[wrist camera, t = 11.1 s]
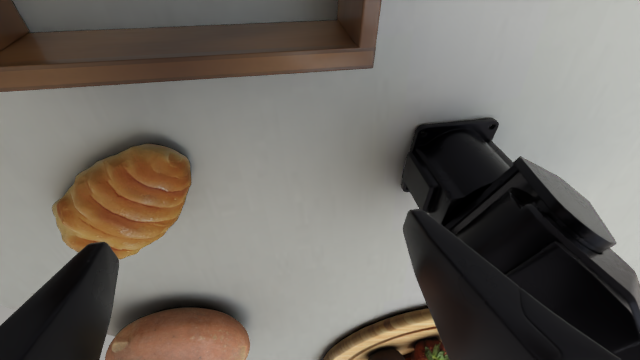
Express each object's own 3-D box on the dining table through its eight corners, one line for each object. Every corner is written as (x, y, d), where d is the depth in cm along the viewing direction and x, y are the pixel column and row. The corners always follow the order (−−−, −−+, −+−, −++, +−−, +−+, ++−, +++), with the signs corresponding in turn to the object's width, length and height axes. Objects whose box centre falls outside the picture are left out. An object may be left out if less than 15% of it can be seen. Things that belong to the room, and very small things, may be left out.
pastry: (122, 112, 18) (101, 151, 16) (220, 167, 22) (217, 206, 20) (54, 201, 22) (27, 246, 19) (149, 235, 26) (138, 276, 23)
